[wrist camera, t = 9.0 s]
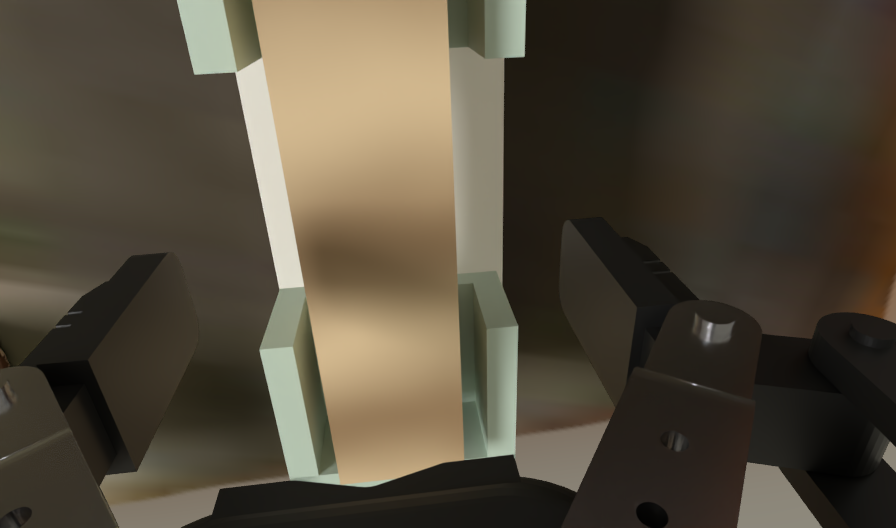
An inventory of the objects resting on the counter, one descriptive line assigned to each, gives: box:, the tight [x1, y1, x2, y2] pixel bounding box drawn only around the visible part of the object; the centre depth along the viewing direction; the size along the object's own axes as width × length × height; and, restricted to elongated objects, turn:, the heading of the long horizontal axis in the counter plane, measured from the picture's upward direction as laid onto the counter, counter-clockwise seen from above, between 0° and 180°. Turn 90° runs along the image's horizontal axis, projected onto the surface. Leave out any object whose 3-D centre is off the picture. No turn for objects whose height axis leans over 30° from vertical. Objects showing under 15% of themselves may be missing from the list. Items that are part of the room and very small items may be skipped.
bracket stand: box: [177, 0, 526, 487], centre depth 19 cm, size 21×10×9 cm, turn 2°
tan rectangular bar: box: [252, 0, 464, 485], centre depth 16 cm, size 17×4×4 cm, turn 2°
